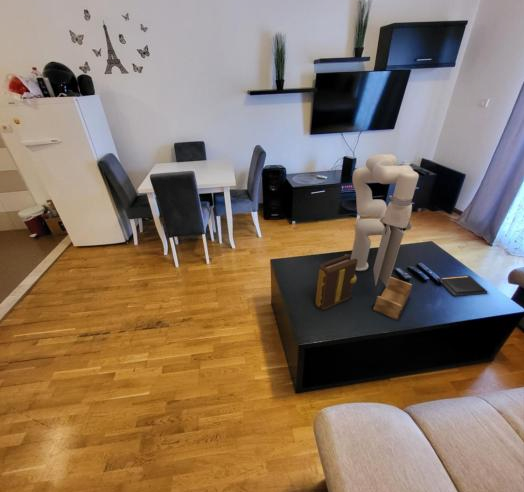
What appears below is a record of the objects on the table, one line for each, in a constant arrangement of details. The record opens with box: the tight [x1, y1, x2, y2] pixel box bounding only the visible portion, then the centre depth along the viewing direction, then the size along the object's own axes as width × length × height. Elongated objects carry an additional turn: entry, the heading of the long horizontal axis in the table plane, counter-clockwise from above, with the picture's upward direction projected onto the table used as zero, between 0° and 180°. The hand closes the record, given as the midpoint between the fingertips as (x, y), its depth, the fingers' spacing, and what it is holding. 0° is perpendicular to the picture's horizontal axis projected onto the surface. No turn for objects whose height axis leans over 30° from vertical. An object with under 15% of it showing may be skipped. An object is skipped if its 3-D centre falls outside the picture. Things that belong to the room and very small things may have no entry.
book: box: [314, 253, 358, 311], centre depth 141 cm, size 22×8×25 cm, turn 117°
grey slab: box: [372, 225, 405, 288], centre depth 133 cm, size 14×6×30 cm, turn 165°
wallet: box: [436, 275, 488, 297], centre depth 155 cm, size 20×2×15 cm
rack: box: [372, 276, 413, 321], centre depth 143 cm, size 12×20×9 cm, turn 142°
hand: (391, 237), depth 128 cm, fingers closed on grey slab, 3 cm apart
